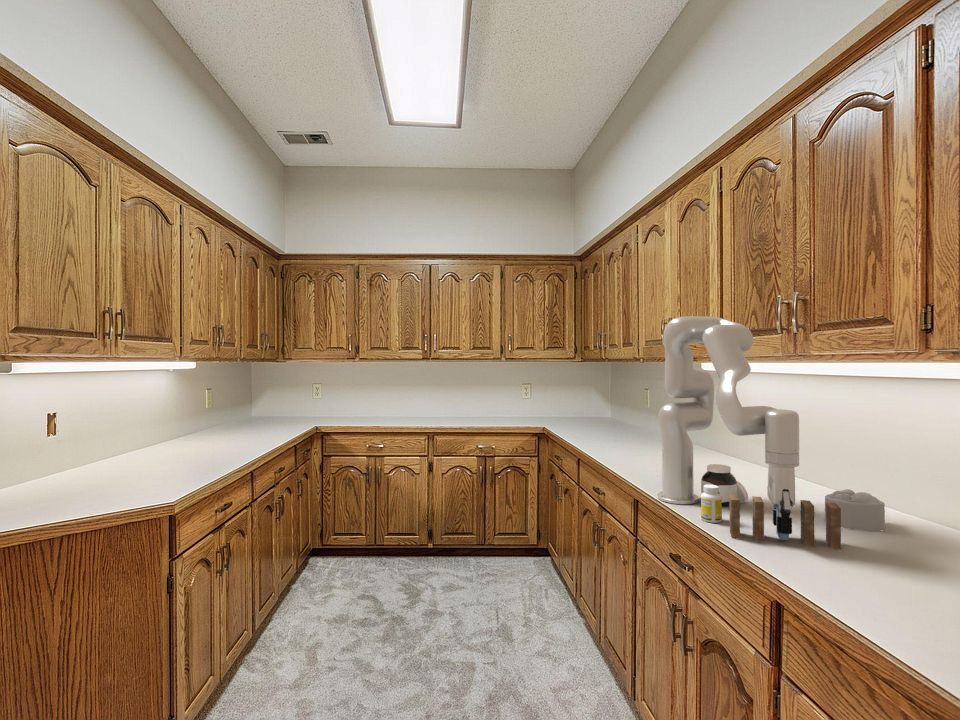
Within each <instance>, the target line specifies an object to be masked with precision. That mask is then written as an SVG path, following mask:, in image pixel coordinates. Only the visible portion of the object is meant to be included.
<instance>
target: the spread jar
mask: <svg viewBox="0 0 960 720" xmlns="http://www.w3.org/2000/svg"><path fill="white" fill-rule="evenodd" d="M706 469H707V471H706V472H705V473H704V474H703V475H702V477H701V480H700V491H701V492H700V493H701V494H702V493H704V489H703V488H704V485H716V486H718V487H719V492H718V494H720V495H721V498H722V507H729V495H738V497H739V500H740V504H742V503H743V504H744V503H745V502H747V501H748V500H749V493H748V491H747V490H746V488H745V486H744V485H743V484H742V483H741V482H740V481H737V479H736V477H735V476H734V474H732V473H731V469H732V468H731V466H729V465H728V464H727V465H726V464H718V463H711V464H707V465H706Z"/></svg>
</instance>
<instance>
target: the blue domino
mask: <svg viewBox="0 0 960 720" xmlns="http://www.w3.org/2000/svg"><path fill="white" fill-rule="evenodd" d="M780 505H784V503H783V502H780ZM782 509H784V507H781V510H782ZM775 510H776V530H775V531H776V534H777V536H778V538H779V540H785V541H790V534H784V533H778V532H777V516H778V504H776V509H775Z"/></svg>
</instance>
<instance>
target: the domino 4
mask: <svg viewBox="0 0 960 720" xmlns="http://www.w3.org/2000/svg"><path fill="white" fill-rule="evenodd" d="M825 542H826V544H827V545H828V546H829V548H831V549H834V550H841V549H842V527H841V508H840V507H839V506H838V505H837V504H836V503H833V502H826V522H825Z"/></svg>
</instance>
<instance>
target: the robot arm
mask: <svg viewBox="0 0 960 720" xmlns="http://www.w3.org/2000/svg"><path fill="white" fill-rule="evenodd" d="M662 337H663V338H662V339H663V347H664V354H665V357H664V361H665V362H664V392H665V394H666V396H668V397H669V398H672V399H689V400H690V401H678V402H677V401H676V402H669V403H666V404H665V405H663V406H661V408H660V409H659V411H658V414H657V415H658V417H657V418H658V424H659V428H660V434H661V471H662V473H661V475H662V476H661V478H662V481H661V483H662V487H661V488H662V491H659V492H658V493H657V498H658V500H660V501H662V502H665V503H669V504H674V505H692V504H697V503H699V501H700V497H699V495H697V494H695V493H694V491H695V490H694V446H693V442H692V439H691V437H690V436H689V433H688V432H695V431H703V430H707V429H708V428H709V427H710V426H711V425H712V421H713V419H714V418H713V417H714V403H716V404H715V405H716V407H717V410H718V412H719V415H720V417H721V419H722V421H723V424H724V425H725V426H726V428H727V429H728V431H730V432H731V434H734V435H736V436H739V437H741V436H754V435H758V436H759V435H764V455H765V460H764V464H766V465H768V468H767V470H768V471H767V497H768V499H769V502H770V503H771V504H772V505H773V506H772V507H773V509H772V524H773V526H776V504H778V516H777V532H778V533H784V534H789V535H791V534H792V535H793V518H792V517H793V516H792V515H793V514H792V507H794V506H796V475H795V474H796V472H795V468H798V467H800V416H799V413H798V412H796V411H795V410H792V409H791V410H790V409H782V408H781V409H779V408H775V407H772V406H768V405H758V406H756V405H755V406H754V405H753V406H742V404H741V402H740V400H739V397H738V395H737V384H738V382H740V381H742V380H744V379H745V378H746V377H747V376H749V374H750V373H751V370H752V369H751V366H750V364H749V362H748V360H747V358H746V356H745V354H744V353H746V352H748V351H750V350H751V348H752V347H753V345H754V336H753V334H752V331H751V330H750V329H749V327H747V326H745V325H744V324H742V323H739V322H735V321H732V320H728V319H724V318H722V317H717V316H699V315H697V316H696V315H694V316H693V315H690V316H688V315H685V316H679V317H675V318H673V319H671V320H670V321H668V323H667V324H666V325H665V328H664V331H663V336H662ZM689 344H703V345H704V347H705V350H706V352H707V354H708V358H710V360H711V363H712V365H713V367H714V370H715V371H716V374H717V377H718V379H719V381H718V384H717V386H716V391H715V382H714V379H713V377H712V375H711V374H710V372H709V371H707V370H706V369H703V368H694V355H693V352H692V350H691V348H690V346H689ZM715 392H716V395H715ZM714 400H715V402H714ZM780 502H783V503H784V505H780ZM781 507H784V509H782V510H781Z"/></svg>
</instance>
